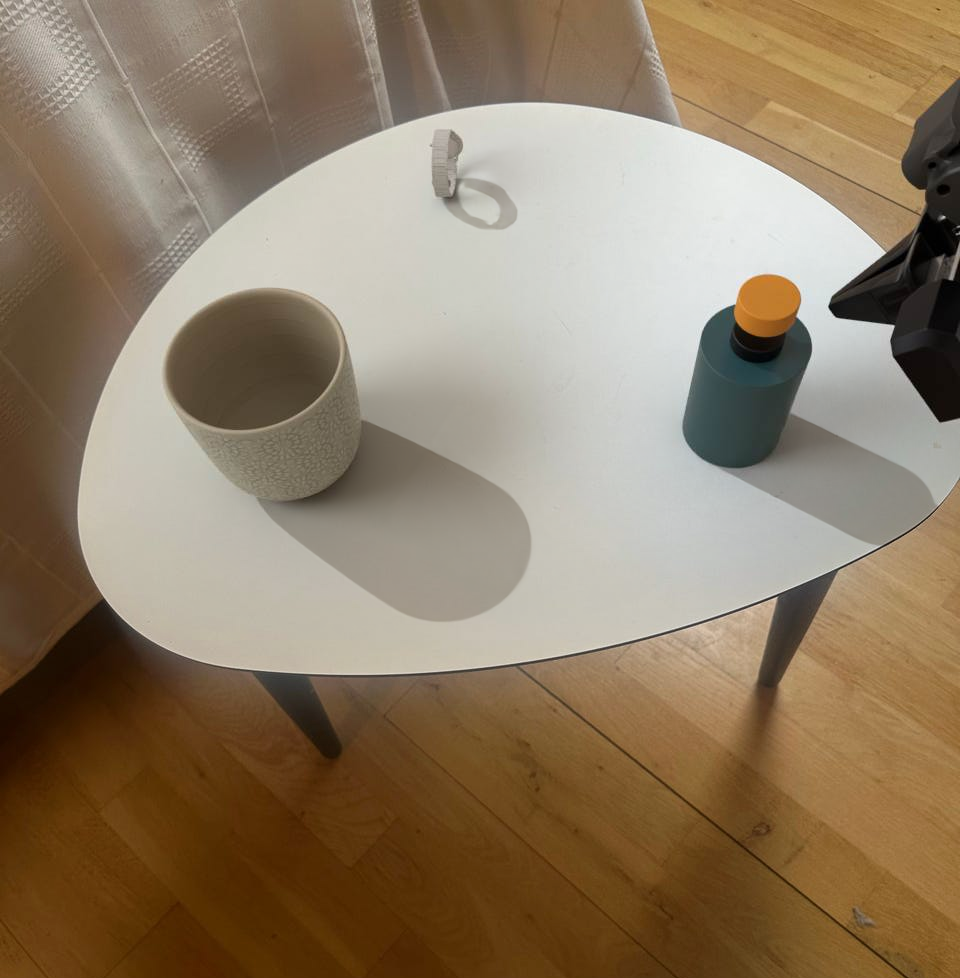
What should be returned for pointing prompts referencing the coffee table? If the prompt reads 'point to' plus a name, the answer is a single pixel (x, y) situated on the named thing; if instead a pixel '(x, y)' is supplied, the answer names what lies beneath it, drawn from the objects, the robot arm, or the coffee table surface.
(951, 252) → the robot arm
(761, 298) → the orange short cylinder
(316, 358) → the planter
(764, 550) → the coffee table surface
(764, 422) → the bottle
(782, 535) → the coffee table surface
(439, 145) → the wristwatch
